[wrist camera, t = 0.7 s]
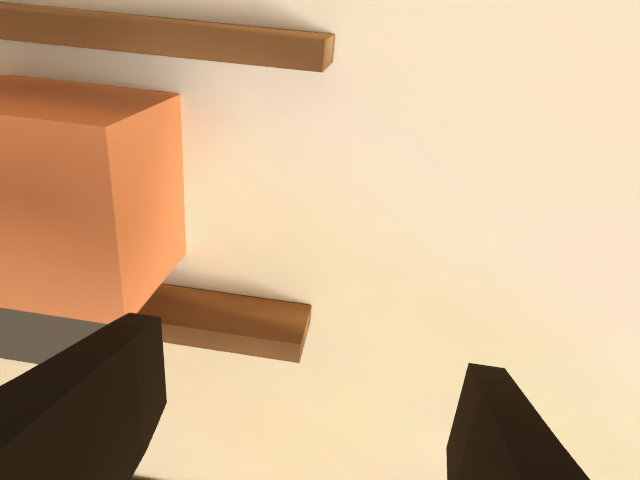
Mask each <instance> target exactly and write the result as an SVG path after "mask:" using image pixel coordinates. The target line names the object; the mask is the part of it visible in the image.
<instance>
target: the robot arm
mask: <svg viewBox="0 0 640 480" xmlns="http://www.w3.org/2000/svg"><path fill="white" fill-rule="evenodd" d="M166 403H167V399H166V384H165V369H164V354H163V339H162V324H161V317H157V316H150V315H143V314H137V313H130V312H129V313H127V314H125V315H124V316H122V317H120V318H118V319H116V320H114V321H113V322H111V323H109V324H107V325H106V326H104V327H102V328H100V329H99V330H97V331H95V332H94V333H92V334H90V335H89V336H87V337H85V338H83V339H82V340H80V341H78V342H77V343H75V344H73V345H72V346H70V347H68V348H67V349H65V350H63V351H61V352H60V353H58V354H56V355H54V356H53V357H51V358H49V359H48V360H46V361H44V362H42V363H41V364H39V365H37V366H35V367H34V368H32V369H30V370H29V371H27V372H25V373H23V374H22V375H20V376H18V377H16V378H14V379H12V380H10V381H9V382H7V383H5V384H3V385H1V386H0V480H130V479H131V477H132V475H133V474H134V472H135V470H136V468H137V467H138V465H139V463H140V461H141V460H142V458H143V456H144V454H145V452H146V450H147V448H148V445H149V443H150V441H151V439H152V436H153V434H154V432H155V430H156V427H157V425H158V422H159V420H160V417H161V415H162V413H163V410H164V408H165V405H166ZM446 449H447V480H590V479H589V478H588V477H587V475H586V474H585V473H584V472H583V470H582V469H581V468H580V467H579V465H578V464H577V463H576V462H575V460H574V459H573V458H572V457H571V455H570V454H569V453H568V452H567V450H566V449H565V448H564V446H563V445H562V444H561V443H560V441H559V440H558V439H557V437H556V436H555V435H554V434H553V432H552V431H551V430H550V428H549V427H548V426H547V424H546V423H545V422H544V420H543V419H542V418H541V416H540V415H539V414H538V412H537V411H536V410H535V408H534V407H533V406H532V404H531V403H530V402H529V400H528V399H527V398H526V396H525V395H524V393H523V392H522V391H521V389H520V388H519V387H518V385H517V384H516V383H515V381H514V380H513V379H512V377H511V376H510V375H509V373H508V372H507V371H506V369H505V368H499V367H493V366H486V365H479V364H472V363H469V364H468V368H467V372H466V375H465V379H464V383H463V387H462V391H461V395H460V398H459V402H458V406H457V410H456V414H455V417H454V421H453V425H452V429H451V433H450V436H449V440H448V444H447V448H446Z"/></svg>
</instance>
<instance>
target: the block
mask: <svg viewBox="0 0 640 480" xmlns="http://www.w3.org/2000/svg"><path fill="white" fill-rule="evenodd" d="M185 254H186V241H185V214H184V186H183V158H182V131H181V103H180V94H174V93H166V92H157V91H148V90H139V89H130V88H121V87H112V86H103V85H94V84H85V83H76V82H67V81H58V80H50V79H41V78H32V77H23V76H14V75H10V76H5V77H0V308H6V309H13V310H19V311H26V312H32V313H39V314H46V315H52V316H59V317H65V318H72V319H78V320H85V321H91V322H98V323H104V324H109V323H111V322H113V321H114V320H116V319H118V318H120V317H122V316H124V315H125V314H127V313H129V312H130V313H137V312H138V311H139V310H140V309H141V308H142V306H143V305H144V304H145V303H146V302H147V300H148V299H149V298H150V297H151V295H152V294H153V293H154V292H155V291H156V289H157V288H158V287H159V286H160V285H161V283H162V282H163V281H164V280H165V278H166V277H167V276H168V275H169V274H170V272H171V271H172V270H173V269H174V268H175V266H176V265H177V264H178V263H179V261H180V260H181V259H182V258H183V257H184V255H185Z"/></svg>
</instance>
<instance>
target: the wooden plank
mask: <svg viewBox="0 0 640 480" xmlns="http://www.w3.org/2000/svg"><path fill="white" fill-rule="evenodd" d="M0 39H4V40H14V41H24V42H34V43H43V44H53V45H63V46H72V47H82V48H92V49H101V50H111V51H121V52H130V53H140V54H150V55H159V56H169V57H179V58H189V59H198V60H208V61H218V62H227V63H237V64H247V65H256V66H266V67H276V68H285V69H295V70H305V71H314V72H323V71H324V70H325V69H326V68H327V67H328V66H329V65H330V64H331V63H332V62H333V53H334V41H335V34H327V33H317V32H306V31H296V30H286V29H275V28H265V27H255V26H244V25H234V24H224V23H213V22H203V21H193V20H182V19H172V18H161V17H151V16H141V15H130V14H120V13H110V12H99V11H89V10H79V9H68V8H58V7H48V6H37V5H27V4H17V3H6V2H0ZM311 306H312V305H305V304H298V303H291V302H284V301H277V300H270V299H263V298H256V297H249V296H242V295H235V294H228V293H221V292H214V291H207V290H200V289H193V288H186V287H179V286H172V285H165V284H161V285H160V286H159V287H158V288H157V289H156V291H155V292H154V293H153V294H152V295H151V297H150V298H149V299H148V300H147V302H146V303H145V304H144V305H143V306H142V308H141V309H140V310H139V311H138V312H137V314H143V315H150V316H157V317H161V324H162V339H163V342H165V343H172V344H178V345H185V346H191V347H198V348H204V349H211V350H218V351H224V352H231V353H237V354H244V355H250V356H257V357H263V358H270V359H276V360H283V361H289V362H296V363H299V362H300V358H301V355H302V351H303V347H304V343H305V340H306V336H307V332H308V328H309V325H310V317H311Z"/></svg>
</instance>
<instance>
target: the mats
mask: <svg viewBox="0 0 640 480" xmlns="http://www.w3.org/2000/svg"><path fill="white" fill-rule="evenodd" d="M106 325H107V324H104V323H98V322H91V321H85V320H78V319H72V318H65V317H59V316H52V315H46V314H39V313H32V312H26V311H19V310H13V309H6V308H0V358H4V359H10V360H16V361H22V362H29V363H35V364H41V363H42V362H44V361H46V360H48V359H49V358H51V357H53V356H54V355H56V354H58V353H60V352H61V351H63V350H65V349H67V348H68V347H70V346H72V345H73V344H75V343H77V342H78V341H80V340H82V339H83V338H85V337H87V336H89V335H90V334H92V333H94V332H95V331H97V330H99V329H100V328H102V327H104V326H106Z"/></svg>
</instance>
